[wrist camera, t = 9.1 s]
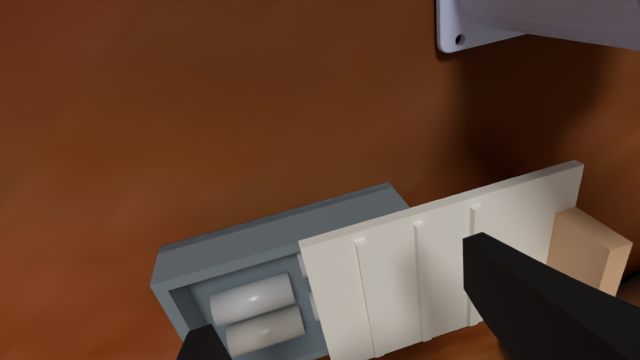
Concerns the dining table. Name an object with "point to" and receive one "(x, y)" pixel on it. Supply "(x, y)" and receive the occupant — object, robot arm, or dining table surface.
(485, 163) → the dining table surface
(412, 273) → the lid
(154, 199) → the dining table surface
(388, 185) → the tub
